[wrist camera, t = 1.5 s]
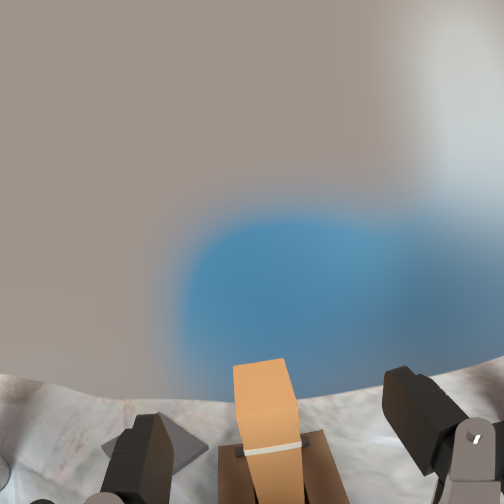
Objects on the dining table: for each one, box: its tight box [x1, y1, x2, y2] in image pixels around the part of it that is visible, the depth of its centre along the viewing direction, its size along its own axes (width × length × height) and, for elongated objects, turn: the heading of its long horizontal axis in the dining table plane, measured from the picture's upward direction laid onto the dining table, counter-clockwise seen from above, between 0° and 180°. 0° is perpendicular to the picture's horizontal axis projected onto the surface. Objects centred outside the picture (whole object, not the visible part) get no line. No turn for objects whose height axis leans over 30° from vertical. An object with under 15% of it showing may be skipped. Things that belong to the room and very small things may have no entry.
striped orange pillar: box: [233, 358, 305, 504], centre depth 24 cm, size 4×6×18 cm
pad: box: [101, 412, 208, 475], centre depth 35 cm, size 11×11×1 cm
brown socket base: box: [218, 430, 350, 504], centre depth 25 cm, size 12×14×5 cm
